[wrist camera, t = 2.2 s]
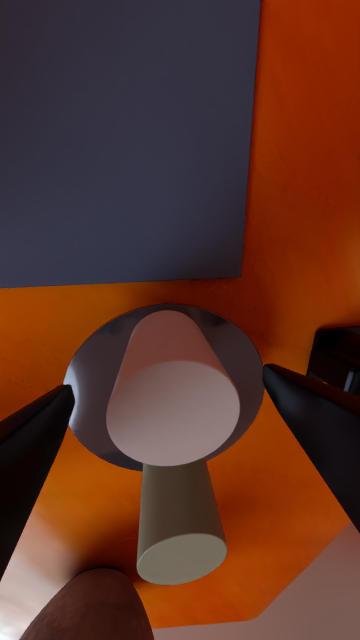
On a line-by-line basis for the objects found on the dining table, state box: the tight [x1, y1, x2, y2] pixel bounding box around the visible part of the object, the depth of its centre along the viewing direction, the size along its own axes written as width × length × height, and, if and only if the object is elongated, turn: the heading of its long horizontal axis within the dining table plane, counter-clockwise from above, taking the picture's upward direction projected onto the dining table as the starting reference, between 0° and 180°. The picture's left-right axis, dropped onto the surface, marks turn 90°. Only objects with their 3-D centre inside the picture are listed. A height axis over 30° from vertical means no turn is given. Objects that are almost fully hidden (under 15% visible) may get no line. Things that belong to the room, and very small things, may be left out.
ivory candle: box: [106, 310, 240, 466], centre depth 9 cm, size 5×5×6 cm
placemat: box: [0, 0, 261, 288], centre depth 12 cm, size 20×18×1 cm
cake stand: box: [63, 303, 265, 471], centre depth 16 cm, size 15×15×5 cm
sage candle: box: [137, 457, 227, 585], centre depth 12 cm, size 5×5×6 cm
